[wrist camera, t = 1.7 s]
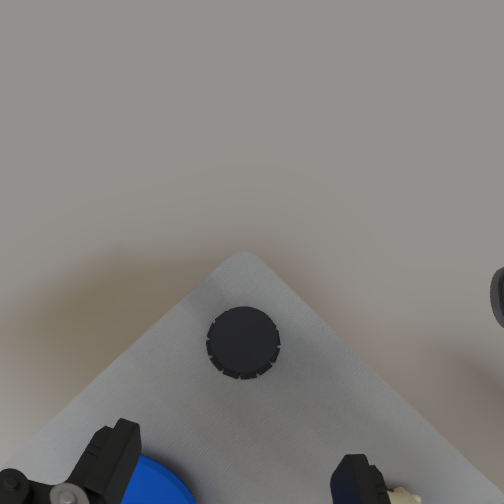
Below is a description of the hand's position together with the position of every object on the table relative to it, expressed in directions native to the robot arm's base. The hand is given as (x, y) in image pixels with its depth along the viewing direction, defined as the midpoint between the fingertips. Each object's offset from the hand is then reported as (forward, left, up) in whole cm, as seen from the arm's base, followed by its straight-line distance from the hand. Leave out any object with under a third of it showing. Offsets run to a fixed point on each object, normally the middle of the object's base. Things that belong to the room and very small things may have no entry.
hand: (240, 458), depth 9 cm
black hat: (-1, -5, -23) cm, 23 cm away
